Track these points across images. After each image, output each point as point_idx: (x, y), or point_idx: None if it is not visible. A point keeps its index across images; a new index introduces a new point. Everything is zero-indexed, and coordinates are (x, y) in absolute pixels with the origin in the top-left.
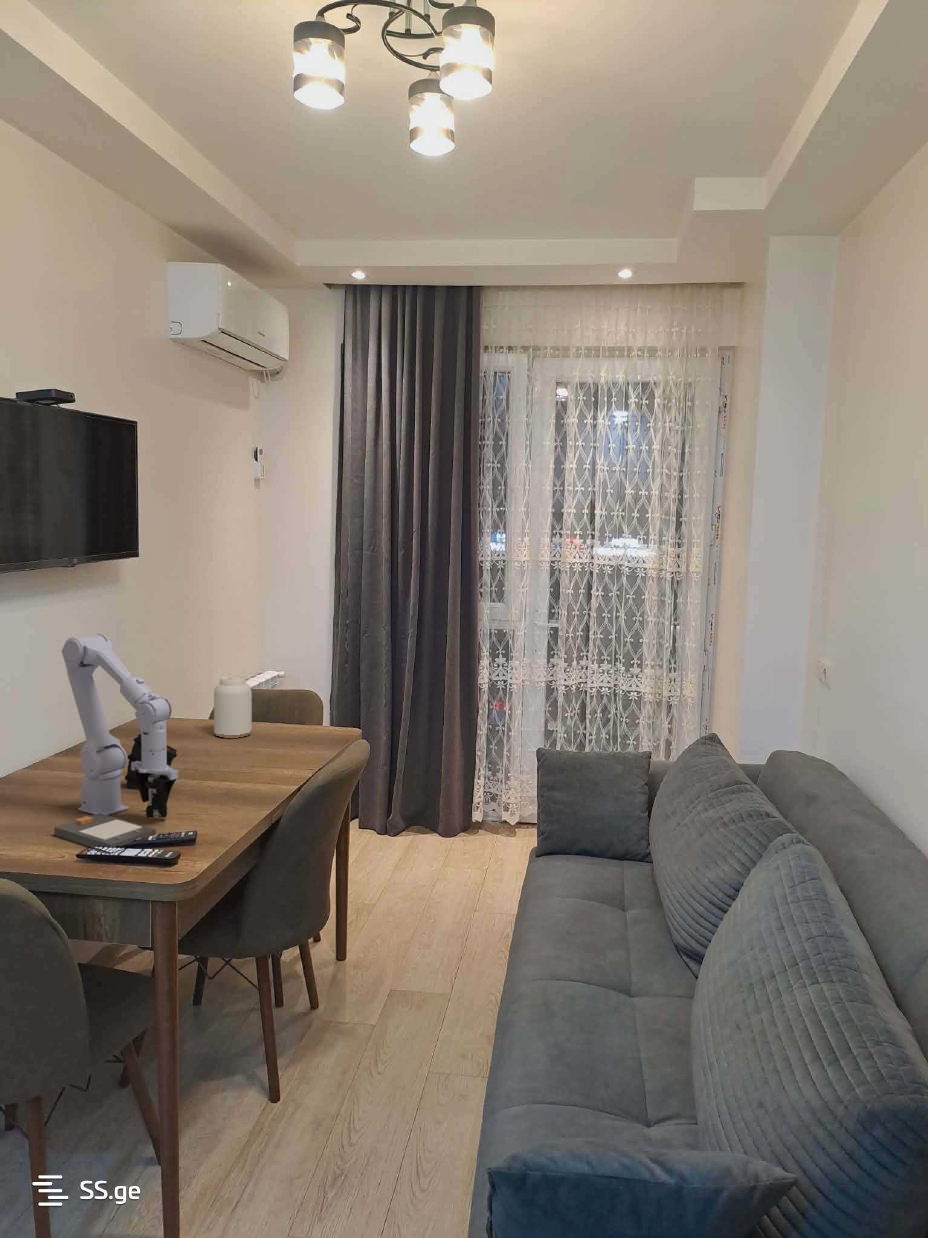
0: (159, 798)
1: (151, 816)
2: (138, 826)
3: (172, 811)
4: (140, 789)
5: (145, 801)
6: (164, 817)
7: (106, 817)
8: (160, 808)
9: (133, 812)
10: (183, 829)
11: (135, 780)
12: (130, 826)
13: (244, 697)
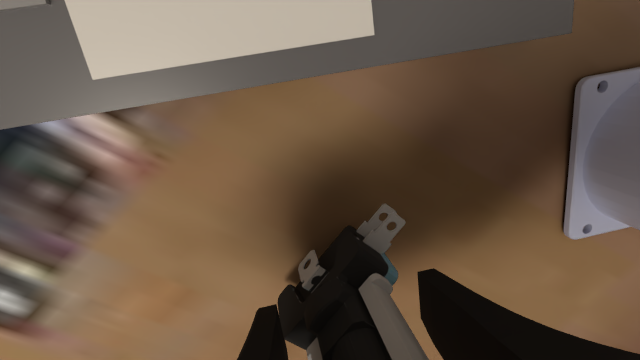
0: (241, 352)
1: (334, 247)
2: (119, 65)
3: None
4: (489, 317)
5: (419, 283)
6: (282, 291)
7: (474, 18)
8: (302, 310)
9: (510, 230)
10: (92, 295)
11: (606, 355)
12: (158, 22)
13: None
